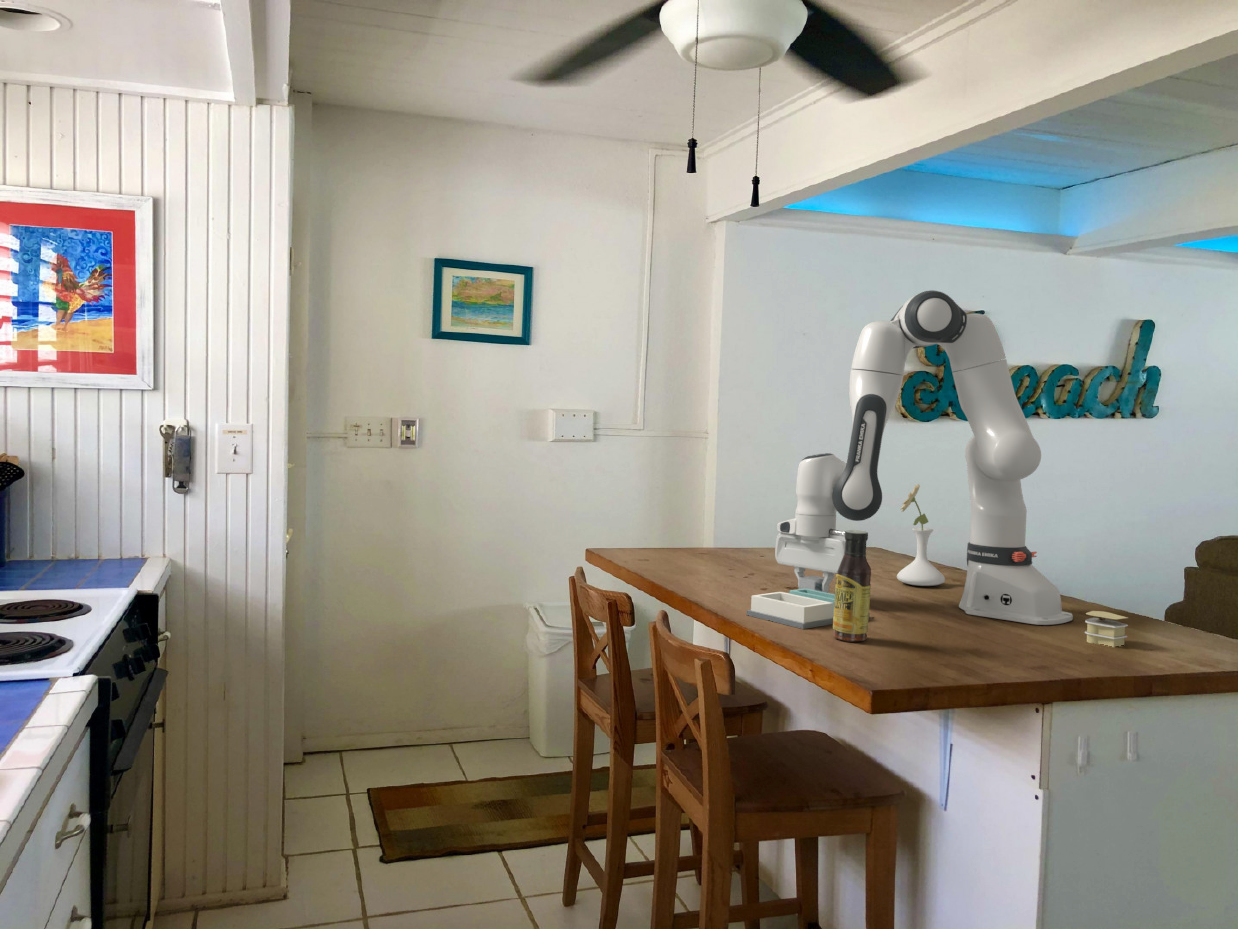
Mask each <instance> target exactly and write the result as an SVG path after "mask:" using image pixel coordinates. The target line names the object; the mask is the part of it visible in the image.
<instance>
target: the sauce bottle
mask: <svg viewBox="0 0 1238 929" xmlns="http://www.w3.org/2000/svg"><path fill="white" fill-rule="evenodd" d="M845 531H846V532H845V540H846V541H845V552H844V556H843V558H842V561H841V563H840V566H839V569H838V571H837V574H835V575H836V576H835V587H834V594H835V602H834V617H833V624H832V632H833V633H832V634H833V637H834V638H835V639H837V640H839V641H843V642H847V643H848V642H850V643H851V642H852V643H853V642H854V643H855V642H864V641H866V640H867V638H868V635H867V634H868V629H869V619H870V615H869V613H870V604H871V601H870V600H871V589H872V588H871V586H872V584H871V577H872V568H871V566H870V564H869V562H868V559H867V541H868V539H869V532H867V531H866V530H865V531H864V530H855V529H849V530H845Z"/></svg>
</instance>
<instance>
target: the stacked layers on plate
mask: <svg viewBox="0 0 1238 929" xmlns="http://www.w3.org/2000/svg"><path fill="white" fill-rule="evenodd" d="M1085 614H1086V615H1088V616H1093V617H1090V618H1087V619H1085V621H1084V622H1085V623H1086V624H1087V625H1086V626H1087V628H1086V629H1087V630H1085V631H1084V634H1086V642H1087V643H1089V644H1093V643H1094V644H1095V645H1100V644H1104V645H1103V646H1105V645H1108V646H1107V647H1109V646H1112V647H1111V648H1116V647H1115V646H1119V647H1122V646H1121V645H1124V646H1125V638H1128V635H1126V627H1128V626H1129V625H1128V624H1127V623H1122V622H1120V621H1115V620H1122V619H1128V616H1127V617H1126V616H1123V615H1119V614H1116V613H1112V612H1108V611H1101V610H1091V611H1088V612H1086V613H1085Z"/></svg>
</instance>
